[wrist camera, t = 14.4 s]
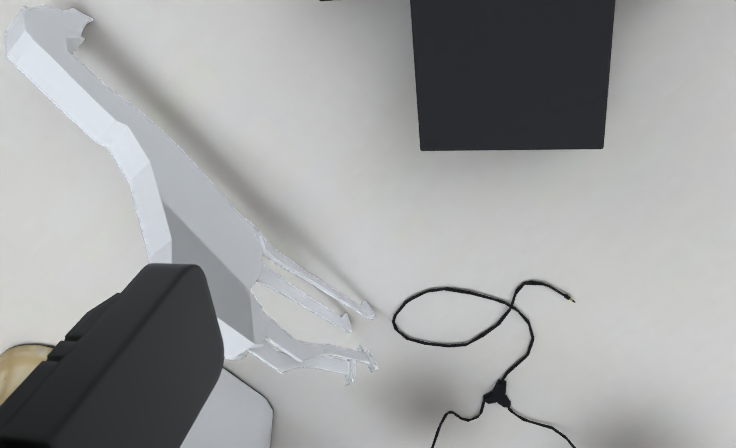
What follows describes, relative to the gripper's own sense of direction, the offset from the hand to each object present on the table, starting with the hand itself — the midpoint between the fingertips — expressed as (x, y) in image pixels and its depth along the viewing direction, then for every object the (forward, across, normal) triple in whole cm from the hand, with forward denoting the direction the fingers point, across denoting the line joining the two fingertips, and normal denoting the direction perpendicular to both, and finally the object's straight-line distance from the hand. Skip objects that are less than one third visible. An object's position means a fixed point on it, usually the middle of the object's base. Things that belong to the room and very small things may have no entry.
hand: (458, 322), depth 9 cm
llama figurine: (+16, +11, +6) cm, 21 cm away
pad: (+16, 0, -2) cm, 16 cm away
